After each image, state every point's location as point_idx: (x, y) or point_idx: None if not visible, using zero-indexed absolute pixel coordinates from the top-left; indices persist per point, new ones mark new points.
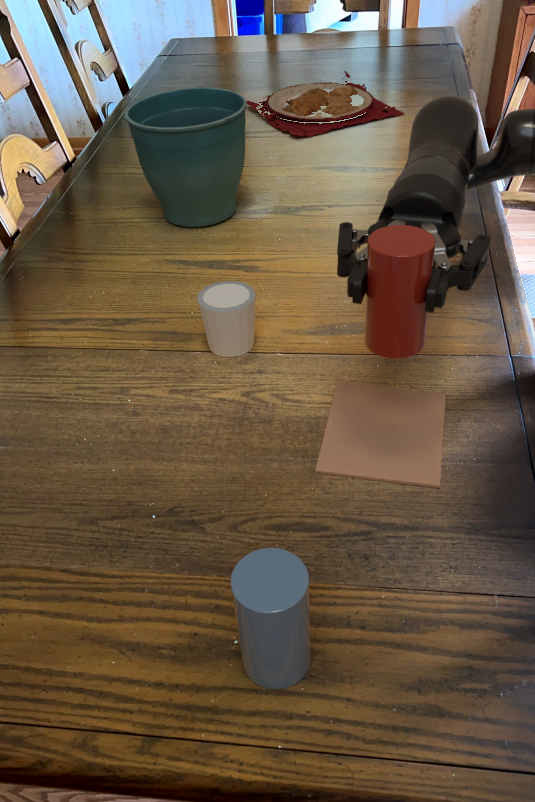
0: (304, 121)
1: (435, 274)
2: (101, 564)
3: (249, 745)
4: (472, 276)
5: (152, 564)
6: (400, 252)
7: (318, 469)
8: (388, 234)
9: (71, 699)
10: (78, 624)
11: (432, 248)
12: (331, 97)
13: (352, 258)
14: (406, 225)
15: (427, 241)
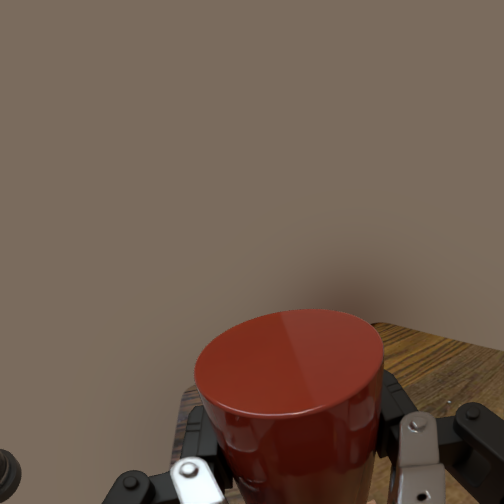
0: None
1: (209, 433)
2: (439, 369)
3: None
4: None
5: (417, 385)
6: (270, 319)
7: (371, 501)
8: (334, 354)
9: (384, 338)
10: (414, 351)
11: (200, 353)
12: None
13: (441, 426)
14: (303, 409)
15: (214, 364)
